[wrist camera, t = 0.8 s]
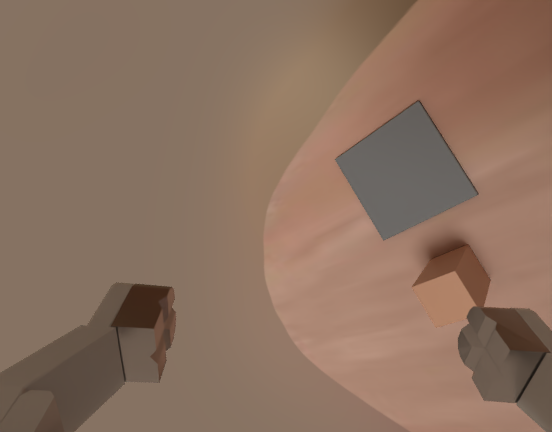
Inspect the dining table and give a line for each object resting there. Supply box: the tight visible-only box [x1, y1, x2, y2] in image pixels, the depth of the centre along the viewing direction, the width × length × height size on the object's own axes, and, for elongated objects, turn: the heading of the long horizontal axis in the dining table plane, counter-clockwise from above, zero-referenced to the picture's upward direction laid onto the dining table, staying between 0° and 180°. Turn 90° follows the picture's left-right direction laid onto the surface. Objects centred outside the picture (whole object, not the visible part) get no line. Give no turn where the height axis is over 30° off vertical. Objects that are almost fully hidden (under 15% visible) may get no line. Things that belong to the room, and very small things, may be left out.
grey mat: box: [335, 101, 478, 240], centre depth 52 cm, size 14×14×1 cm
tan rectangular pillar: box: [412, 245, 491, 328], centre depth 47 cm, size 5×5×10 cm
